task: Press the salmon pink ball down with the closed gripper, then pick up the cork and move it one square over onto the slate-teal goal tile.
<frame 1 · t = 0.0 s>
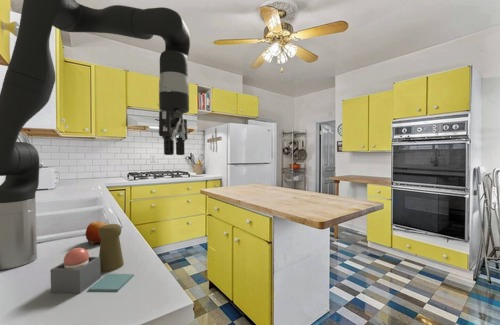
hand: (175, 155, 62), 29 cm above the counter, tool pointing down, fingers open, 8 cm apart
dome housing: (77, 284, 53), on the counter
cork: (110, 267, 62), on the counter
goal tile: (112, 282, 54), on the counter
salmon pink ball: (76, 260, 53), point 6 cm above the counter, slide at 0.0 cm
fruit: (100, 242, 80), on the counter
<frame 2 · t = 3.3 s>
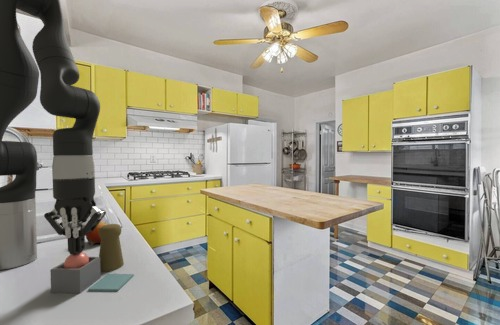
hand: (76, 252, 53), 7 cm above the counter, tool pointing down, fingers closed
salmon pink ball: (76, 264, 53), point 5 cm above the counter, slide at 1.0 cm, touching gripper
everything else where it was.
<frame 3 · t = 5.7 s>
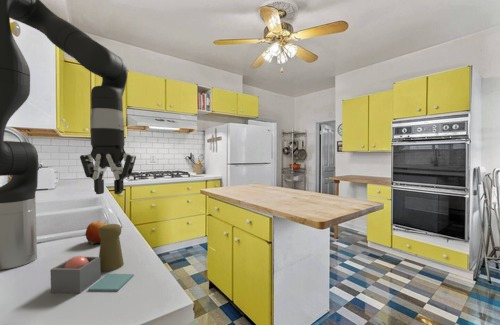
hand: (109, 193, 61), 19 cm above the counter, tool pointing down, fingers open, 4 cm apart
salmon pink ball: (76, 268, 53), point 4 cm above the counter, slide at 1.9 cm
everything else where it was.
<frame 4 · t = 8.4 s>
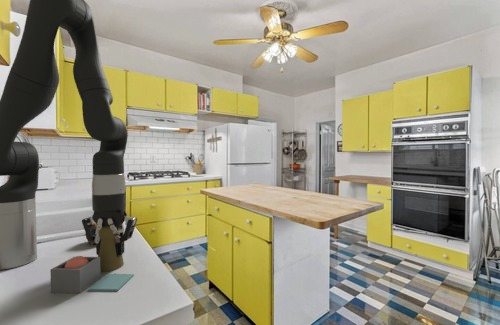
hand: (110, 255, 62), 3 cm above the counter, tool pointing down, fingers closed on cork, 4 cm apart
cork: (110, 267, 62), on the counter, touching gripper
everything else where it was.
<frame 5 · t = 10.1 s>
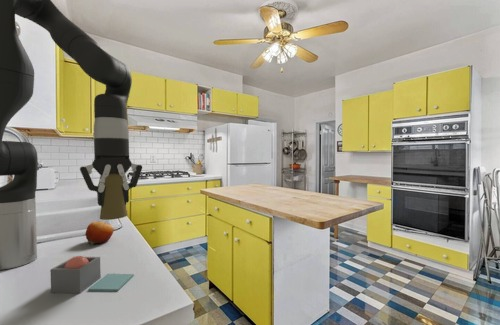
hand: (113, 205, 59), 17 cm above the counter, tool pointing down, fingers closed on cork, 4 cm apart
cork: (114, 217, 59), point 14 cm above the counter, touching gripper
everything else where it was.
when the fingers open (5 cm above the counter, at t = 12.2 s): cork drops 1 cm, resting on goal tile.
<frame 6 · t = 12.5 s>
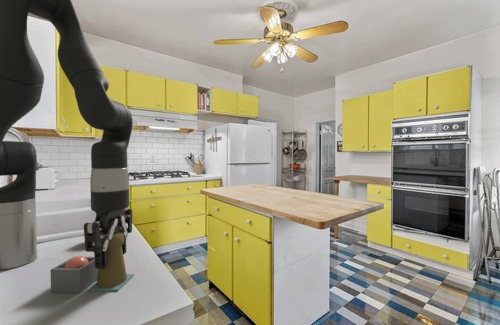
hand: (111, 260, 54), 5 cm above the counter, tool pointing down, fingers open, 6 cm apart
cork: (112, 281, 54), resting on goal tile
everything else where it was.
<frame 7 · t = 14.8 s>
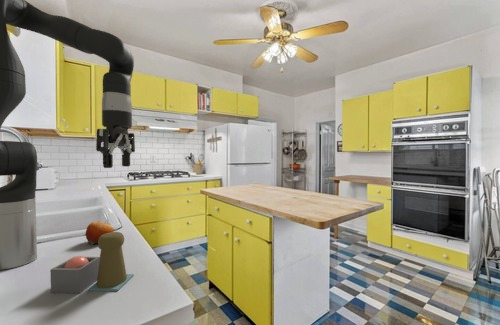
hand: (117, 167, 68), 26 cm above the counter, tool pointing down, fingers open, 8 cm apart
nothing on the counter moved.
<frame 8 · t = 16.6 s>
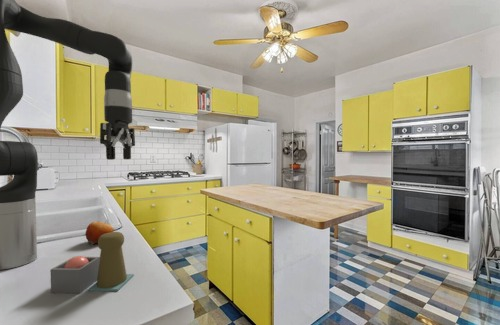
hand: (119, 159, 73), 28 cm above the counter, tool pointing down, fingers open, 8 cm apart
nothing on the counter moved.
at the end: salmon pink ball slide at 1.9 cm; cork 0.1 cm off-centre on the goal tile, point 0.2 cm above the goal tile's base; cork tilted 0° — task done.
